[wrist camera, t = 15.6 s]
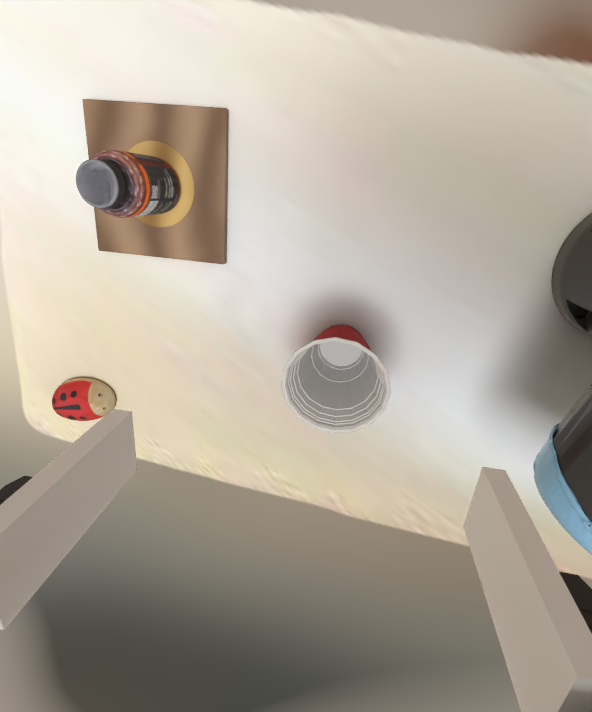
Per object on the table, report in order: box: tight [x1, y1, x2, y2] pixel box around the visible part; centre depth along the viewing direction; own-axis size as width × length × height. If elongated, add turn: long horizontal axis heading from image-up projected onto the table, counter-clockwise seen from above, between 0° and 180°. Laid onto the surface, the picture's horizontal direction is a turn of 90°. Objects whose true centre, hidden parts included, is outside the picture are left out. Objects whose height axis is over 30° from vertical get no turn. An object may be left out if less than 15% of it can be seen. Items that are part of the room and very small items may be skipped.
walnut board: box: [83, 99, 228, 264], centre depth 45 cm, size 16×16×1 cm
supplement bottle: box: [76, 150, 180, 218], centre depth 39 cm, size 6×6×11 cm
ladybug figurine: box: [52, 378, 116, 421], centre depth 57 cm, size 7×10×4 cm
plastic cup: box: [281, 325, 391, 433], centre depth 44 cm, size 11×11×12 cm
